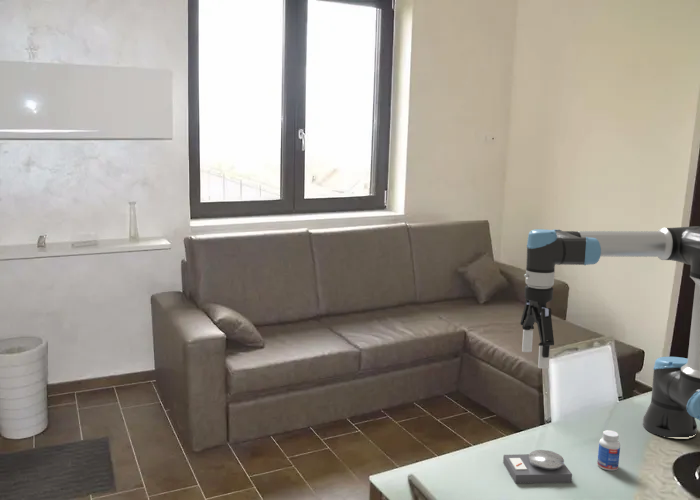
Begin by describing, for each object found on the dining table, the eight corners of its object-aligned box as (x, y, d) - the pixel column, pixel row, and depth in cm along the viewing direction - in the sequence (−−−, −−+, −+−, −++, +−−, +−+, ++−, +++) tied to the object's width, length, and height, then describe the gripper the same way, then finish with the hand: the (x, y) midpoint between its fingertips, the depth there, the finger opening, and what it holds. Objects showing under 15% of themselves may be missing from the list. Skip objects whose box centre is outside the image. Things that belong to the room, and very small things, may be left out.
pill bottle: (608, 473, 172) (611, 439, 170) (592, 464, 177) (595, 431, 175) (622, 468, 174) (625, 435, 173) (606, 459, 179) (609, 427, 177)
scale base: (555, 461, 178) (556, 451, 177) (571, 482, 167) (572, 471, 166) (503, 462, 177) (503, 452, 176) (515, 483, 166) (516, 472, 165)
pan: (556, 453, 176) (556, 449, 176) (568, 469, 167) (569, 465, 167) (524, 453, 176) (524, 450, 175) (535, 470, 167) (535, 466, 167)
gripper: (512, 276, 187) (508, 345, 190) (541, 296, 162) (536, 375, 166) (537, 276, 187) (532, 345, 191) (570, 296, 163) (565, 375, 166)
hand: (534, 359), depth 178 cm, fingers open, 13 cm apart
